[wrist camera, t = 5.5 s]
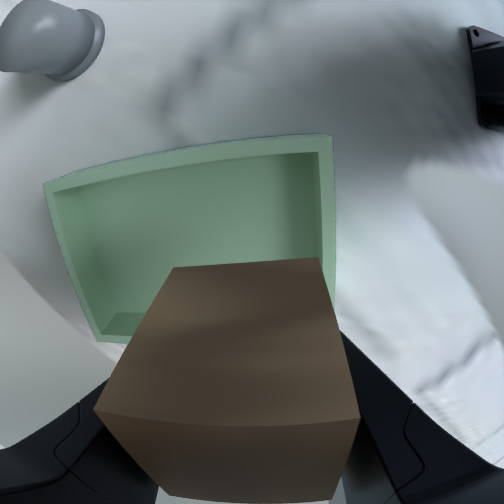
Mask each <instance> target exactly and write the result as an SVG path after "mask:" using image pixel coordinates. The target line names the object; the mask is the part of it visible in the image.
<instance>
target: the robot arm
mask: <svg viewBox="0 0 504 504" xmlns="http://www.w3.org/2000/svg"><path fill="white" fill-rule="evenodd" d="M466 32H467V37H468V42H469V47H470V53H471V59H472V65H473V72H474V80H475V89H476V100H477V115H478V123H479V125H480V126H481V127H482V128H484V129H490V130H495V131H501V132H504V37H502V36H500V35H497V34H495V33H492V32H490V31H487V30H485V29H482V28H479V27H476V26H469V27H467V29H466ZM473 32H474V33H475V35H476V36H475V35H474V33H473ZM485 118H486V123H485ZM339 331H340V330H339ZM340 334H341V338H342V342H343V346H344V350H345V354H346V357H347V361H348V365H349V370H350V374H351V378H352V382H353V386H354V391H355V395H356V399H357V404H358V408H359V413H360V421H359V425H358V428H357V431H356V435H355V438H354V441H353V444H352V447H351V450H350V453H349V456H348V459H347V462H346V465H345V467H344V470H343V473H342V476H341V478H342V483H343V488H344V493H345V499H346V504H504V469H503V468H499V467H497V466H494V465H492V464H490V463H489V462H487V461H486V460H484V459H483V458H481V457H480V456H479V455H477V454H476V453H475V452H473V451H472V450H470V449H469V448H468V447H466V446H465V445H464V444H462V443H461V442H460V441H458V440H457V439H456V438H454V437H453V436H452V435H450V434H449V433H448V432H447V431H445V430H444V429H443V428H442V427H440V426H439V425H438V424H437V423H436V422H435V421H433V420H432V419H431V418H430V417H429V416H428V415H427V414H426V413H425V412H424V411H423V410H422V409H421V408H420V407H419V406H417V405H416V404H415V403H413V401H412V400H411V399H410V398H409V397H408V396H407V395H406V394H405V393H404V392H403V391H402V390H401V389H400V388H399V387H398V386H397V385H396V384H395V383H394V382H393V381H392V380H391V379H390V378H389V377H388V376H387V375H386V374H385V373H384V372H382V371H381V370H380V369H379V368H378V367H377V366H376V365H375V364H374V363H373V362H372V361H371V360H370V359H369V358H368V357H367V356H366V355H365V354H364V353H363V352H362V351H361V350H360V349H359V348H358V347H357V346H356V345H355V344H354V343H353V342H352V341H351V340H350V339H349V338H347V337H346V336H345V335H344V334H343V333H342V332H341V331H340ZM108 380H109V378H108V379H107V380H106V381H104V382H103V383H102V384H101V385H99V386H98V387H97V388H95V389H94V390H93V391H92V392H90V393H89V394H88V395H87V396H85V397H84V398H83V399H81V400H80V403H79V402H77V403H76V404H75V405H73V406H72V407H71V408H70V409H68V410H67V411H66V412H64V413H63V414H62V415H60V416H59V417H57V418H56V419H54V420H53V421H51V422H50V423H49V424H47V425H45V426H44V427H42V428H41V429H39V430H38V431H36V432H34V433H33V434H31V435H29V436H28V437H26V438H25V439H23V440H21V441H20V442H18V443H16V444H15V445H13V446H11V447H8V448H5V449H1V450H0V504H155V501H156V497H157V492H158V488H159V485H158V484H157V483H156V482H155V481H154V480H153V479H152V478H151V477H150V476H149V475H148V474H147V473H146V472H145V471H144V470H143V469H142V468H141V467H140V466H139V465H138V464H137V462H136V461H135V460H134V459H133V458H132V457H131V456H130V455H129V454H128V452H127V451H126V450H125V449H124V448H123V447H122V446H121V444H120V443H119V442H118V441H117V440H116V438H115V437H114V436H113V435H112V433H111V432H110V431H109V430H108V428H107V427H106V426H105V425H104V423H103V422H102V421H101V419H100V418H99V417H98V415H97V414H96V413H95V411H94V410H93V409H94V407H95V405H96V403H97V401H98V399H99V397H100V395H101V393H102V391H103V389H104V387H105V386H106V384H107V382H108ZM412 403H413V404H412Z"/></svg>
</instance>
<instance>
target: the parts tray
mask: <svg viewBox="0 0 504 504" xmlns="http://www.w3.org/2000/svg"><path fill="white" fill-rule="evenodd" d="M43 188H44V192H45V197H46V201H47V205H48V209H49V213H50V216H51V220H52V224H53V227H54V231H55V234H56V237H57V241H58V244H59V247H60V250H61V253H62V256H63V259H64V262H65V265H66V268H67V271H68V274H69V276H70V279H71V282H72V284H73V287H74V289H75V292H76V295H77V297H78V300H79V302H80V304H81V307H82V309H83V312H84V314H85V316H86V318H87V321H88V323H89V325H90V327H91V330H92V332H93V334H94V336H95V338H96V340H97V342H110V343H125V344H128V343H129V342H130V340H131V338H132V336H133V334H134V333H135V331H136V329H137V327H138V326H139V324H140V322H141V321H142V319H143V317H144V315H145V314H146V312H147V310H148V309H149V307H150V305H151V304H152V302H153V300H154V299H155V297H156V295H157V294H158V292H159V290H160V289H161V287H162V285H163V284H164V282H165V280H166V279H167V277H168V275H169V274H170V272H171V271H172V269H173V267H186V266H201V265H215V264H230V263H244V262H258V261H272V260H286V259H299V258H312V257H318V258H319V261H320V264H321V268H322V271H323V274H324V278H325V281H326V284H327V288H328V291H329V295H330V298H331V302H332V305H333V309H334V307H335V278H336V206H335V177H334V157H333V142H332V136H329V135H324V134H301V135H286V136H273V137H262V138H252V139H242V140H234V141H226V142H218V143H211V144H204V145H197V146H191V147H185V148H179V149H173V150H168V151H162V152H157V153H152V154H147V155H142V156H137V157H133V158H128V159H124V160H119V161H115V162H111V163H107V164H103V165H99V166H95V167H91V168H87V169H83V170H80V171H76V172H73V173H70V174H67V175H65V176H62V177H59V178H57V179H54V180H51V181H49V182H46V183H44V184H43Z"/></svg>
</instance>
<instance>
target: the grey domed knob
mask: <svg viewBox="0 0 504 504" xmlns="http://www.w3.org/2000/svg"><path fill="white" fill-rule="evenodd" d="M104 36H105V29H104V24H103V21H102V19H101V18H100V17H99V16H98V15H97V14H95V13H93V12H91V11H89V10H85V9H78V10H74V9H71V8H69V7H66V6H64V5H61V4H58V3H56V2H53V1H50V0H23V1H21V2H20V3H19V4H17V5H16V6H15V7H14V8H13V9H12V10H11V12H10V13H9V14H8V15H7V17H6V18H5V20H4V21H3V23H2V25H1V27H0V71H2V72H21V73H39V74H46V75H47V76H48V77H49V78H51V79H54V80H70V79H73V78H75V77H77V76H79V75H81V74H82V73H83V72H85V71H86V70H87V69H88V68H89V67H90V66H91V65H92V63H93V62H94V61H95V59H96V58H97V56H98V54H99V52H100V50H101V48H102V45H103V41H104Z"/></svg>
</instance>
